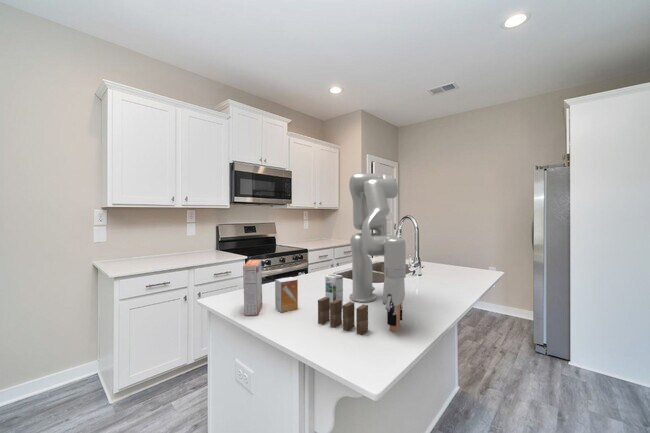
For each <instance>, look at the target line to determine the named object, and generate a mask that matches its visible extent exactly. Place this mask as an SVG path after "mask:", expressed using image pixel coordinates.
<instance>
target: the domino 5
mask: <svg viewBox="0 0 650 433" xmlns="http://www.w3.org/2000/svg"><path fill="white" fill-rule="evenodd" d="M391 305H394V304H391ZM391 309H393V307H391ZM395 315H397V325H396V326H391V325H389V331H391V332H394V333H395V332H396V331H398V330H399V329H400V328H401V321H400V304H399V305H398V306H396V313H395Z"/></svg>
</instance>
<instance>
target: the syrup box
mask: <svg viewBox="0 0 650 433" xmlns="http://www.w3.org/2000/svg"><path fill="white" fill-rule="evenodd" d="M324 279H325V280H324V281H325V282H324V284H325V287H324V288H325V295H324V297H329V298H330V302H332V301H334V300H336V299H339V300H342V309H343V305H344V302H343V300H344V294H343V293H344V288H343V287H344V285H343V284H344V276H343V275H339V274H336V273H330V274H327V275H325V277H324Z"/></svg>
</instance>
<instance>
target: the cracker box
mask: <svg viewBox="0 0 650 433" xmlns="http://www.w3.org/2000/svg"><path fill="white" fill-rule="evenodd" d="M242 271H243V272H242V275H243V302H244V303H243V306H244V308H243V310H244V316H245V317H246V316H258V315H259V314H260V311H261V308H262V306H263V285H262V284H263V283H262V282H263V280H262V279H263V278H262V276H263V275H262V259H249V260H247V261H246V262H245V264H244V265H243V266H242Z"/></svg>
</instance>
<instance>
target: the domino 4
mask: <svg viewBox="0 0 650 433" xmlns="http://www.w3.org/2000/svg"><path fill="white" fill-rule="evenodd" d="M355 308H356V309H355V311H356V319H355V320H356V335H358V336H363V335H364V334H366V333H367V332H368V331H369V305H368V304H362V305H360V306H358V307H355Z"/></svg>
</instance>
